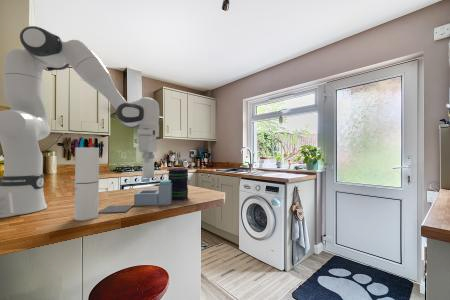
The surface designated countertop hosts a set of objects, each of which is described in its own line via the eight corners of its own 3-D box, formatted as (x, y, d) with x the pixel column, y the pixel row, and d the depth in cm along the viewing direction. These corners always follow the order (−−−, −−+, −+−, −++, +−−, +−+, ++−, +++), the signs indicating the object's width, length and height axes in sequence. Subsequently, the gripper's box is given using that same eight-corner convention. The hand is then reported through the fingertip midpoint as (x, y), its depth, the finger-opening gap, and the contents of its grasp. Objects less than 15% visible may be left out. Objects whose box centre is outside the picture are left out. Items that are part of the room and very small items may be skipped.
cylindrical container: (86, 221, 70) (87, 147, 70) (69, 219, 71) (70, 147, 72) (103, 214, 77) (103, 147, 77) (86, 213, 78) (87, 148, 79)
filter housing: (133, 205, 90) (133, 185, 90) (140, 200, 100) (140, 181, 101) (170, 204, 92) (170, 184, 92) (172, 199, 103) (173, 181, 103)
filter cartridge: (141, 178, 93) (141, 153, 94) (143, 176, 98) (144, 153, 99) (152, 178, 94) (153, 154, 94) (154, 176, 99) (155, 154, 99)
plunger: (159, 197, 92) (159, 181, 92) (161, 195, 96) (161, 180, 96) (169, 197, 92) (169, 181, 93) (170, 195, 97) (170, 180, 97)
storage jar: (191, 197, 108) (191, 168, 109) (182, 201, 99) (183, 170, 99) (174, 196, 111) (174, 168, 111) (164, 200, 101) (164, 169, 102)
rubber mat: (97, 213, 78) (97, 212, 78) (108, 206, 88) (108, 205, 88) (125, 212, 80) (125, 211, 80) (133, 206, 90) (133, 204, 90)
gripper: (147, 134, 107) (146, 161, 106) (135, 130, 86) (135, 163, 86) (159, 134, 107) (159, 161, 107) (151, 130, 87) (150, 163, 87)
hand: (148, 162), depth 96 cm, fingers closed on filter cartridge, 5 cm apart
